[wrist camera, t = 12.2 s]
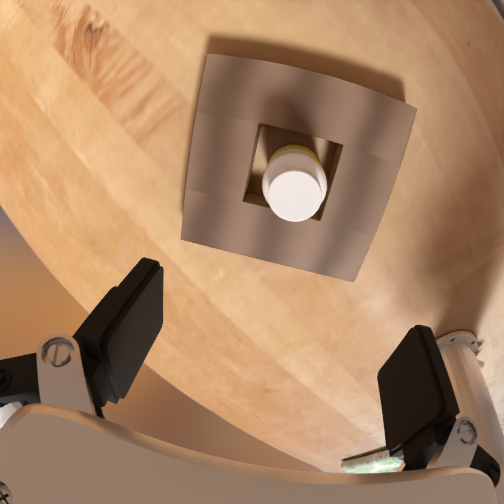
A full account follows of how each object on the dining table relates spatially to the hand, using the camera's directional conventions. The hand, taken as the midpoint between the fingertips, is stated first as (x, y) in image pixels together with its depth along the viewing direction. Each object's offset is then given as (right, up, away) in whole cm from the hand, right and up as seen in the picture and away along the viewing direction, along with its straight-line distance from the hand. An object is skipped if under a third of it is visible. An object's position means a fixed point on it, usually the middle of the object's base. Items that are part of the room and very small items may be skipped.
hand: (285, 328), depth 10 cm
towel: (+39, -62, +56) cm, 92 cm away
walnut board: (+3, +11, +19) cm, 22 cm away
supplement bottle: (+3, +11, +19) cm, 23 cm away
